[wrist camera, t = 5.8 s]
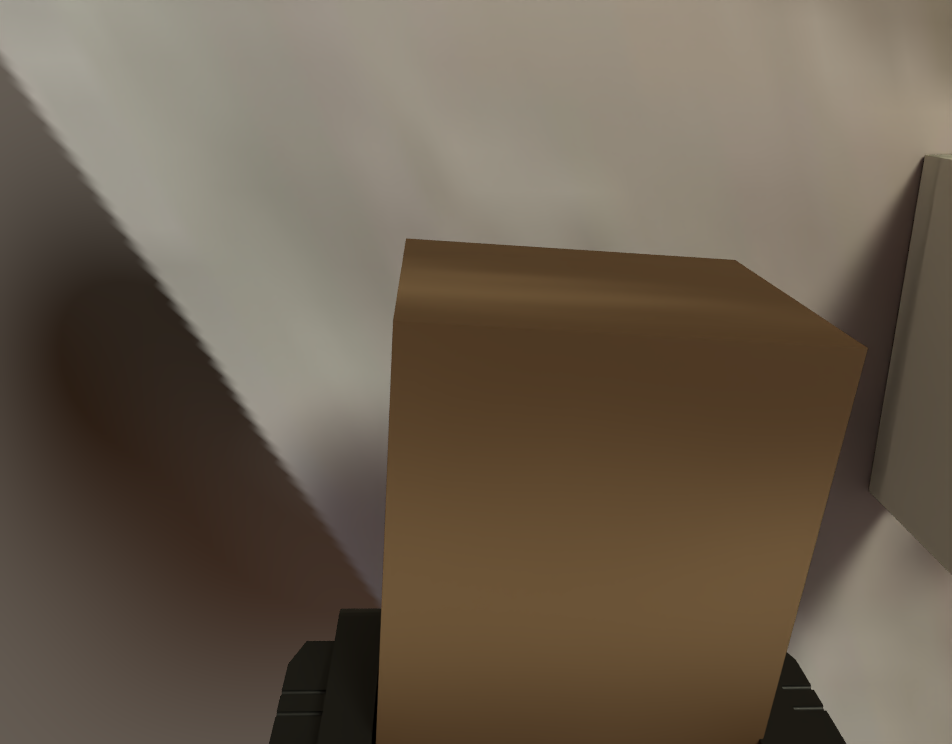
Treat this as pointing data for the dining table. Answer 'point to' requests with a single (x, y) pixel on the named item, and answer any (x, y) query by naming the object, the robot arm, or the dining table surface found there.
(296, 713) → the robot arm
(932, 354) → the shelf frame
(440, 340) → the brown rectangular block
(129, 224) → the dining table surface
